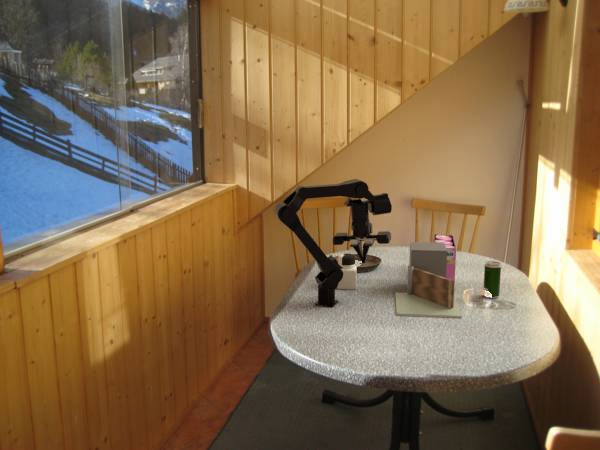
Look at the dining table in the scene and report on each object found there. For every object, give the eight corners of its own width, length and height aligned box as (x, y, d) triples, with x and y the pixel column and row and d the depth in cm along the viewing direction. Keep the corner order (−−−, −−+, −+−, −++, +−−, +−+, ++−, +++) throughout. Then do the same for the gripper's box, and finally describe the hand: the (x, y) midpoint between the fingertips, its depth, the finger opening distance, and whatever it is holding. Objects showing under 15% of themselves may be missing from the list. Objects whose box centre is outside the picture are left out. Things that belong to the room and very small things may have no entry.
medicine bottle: (356, 283, 235) (356, 252, 232) (356, 289, 228) (356, 257, 225) (337, 283, 235) (337, 251, 233) (336, 289, 228) (336, 256, 226)
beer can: (492, 300, 215) (494, 265, 213) (479, 296, 220) (481, 262, 217) (502, 297, 218) (504, 263, 216) (490, 293, 223) (492, 260, 220)
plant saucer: (320, 269, 256) (320, 261, 255) (348, 258, 272) (348, 250, 271) (364, 277, 244) (364, 269, 243) (390, 265, 260) (391, 258, 259)
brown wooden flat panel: (412, 293, 219) (413, 268, 217) (415, 293, 220) (416, 268, 218) (450, 308, 204) (451, 281, 202) (453, 307, 205) (454, 280, 203)
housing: (395, 284, 234) (396, 241, 231) (450, 285, 231) (452, 243, 228) (396, 315, 201) (397, 266, 198) (461, 318, 198) (463, 268, 195)
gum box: (431, 266, 259) (433, 233, 256) (451, 266, 257) (453, 234, 255) (433, 282, 236) (434, 247, 233) (455, 283, 234) (456, 247, 232)
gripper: (391, 211, 214) (395, 255, 217) (337, 213, 219) (341, 256, 223) (386, 218, 204) (390, 265, 207) (330, 220, 209) (334, 266, 213)
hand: (363, 262), depth 213 cm, fingers closed
